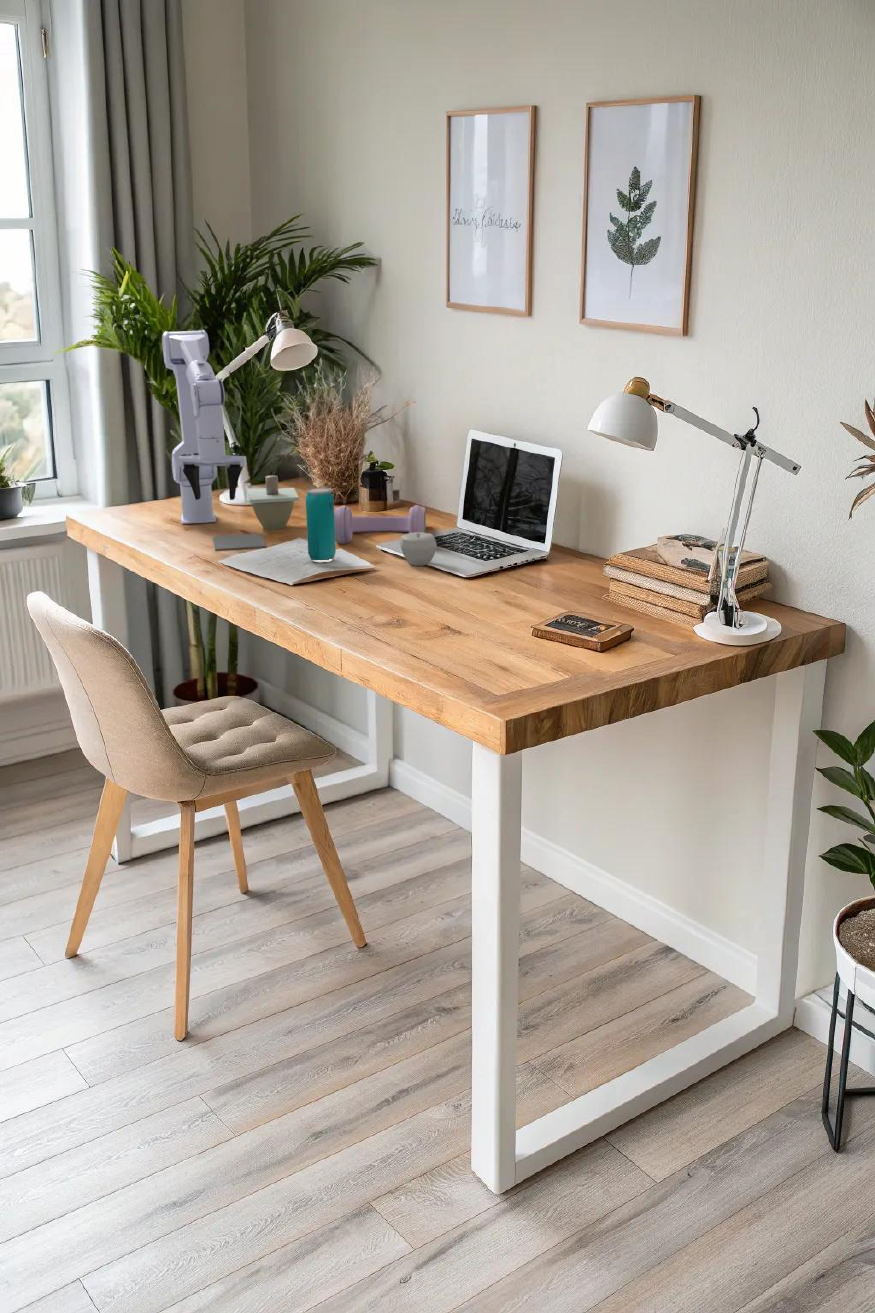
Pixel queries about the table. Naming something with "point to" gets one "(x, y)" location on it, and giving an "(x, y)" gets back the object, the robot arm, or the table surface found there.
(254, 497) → the lid
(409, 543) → the apple
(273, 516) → the flower pot
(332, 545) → the beverage can
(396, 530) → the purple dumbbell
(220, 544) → the mat
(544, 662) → the table surface
